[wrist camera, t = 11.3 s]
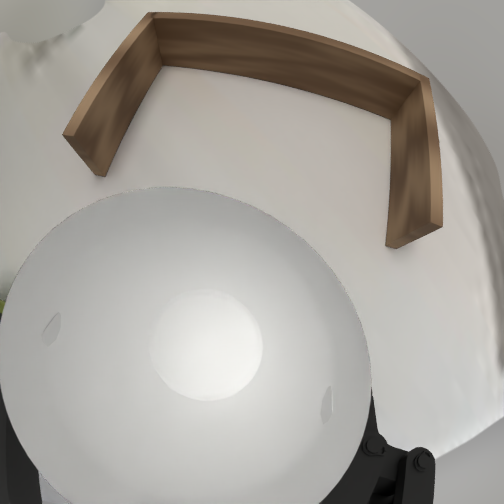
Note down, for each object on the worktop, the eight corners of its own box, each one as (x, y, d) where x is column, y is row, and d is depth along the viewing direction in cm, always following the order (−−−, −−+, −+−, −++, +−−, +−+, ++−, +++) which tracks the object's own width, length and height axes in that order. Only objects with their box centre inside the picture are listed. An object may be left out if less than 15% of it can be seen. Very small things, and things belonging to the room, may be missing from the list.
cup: (313, 338, 17) (444, 362, 6) (213, 444, 16) (198, 587, 4) (200, 238, 18) (160, 112, 7) (103, 345, 16) (-44, 365, 5)
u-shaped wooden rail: (396, 248, 21) (442, 227, 16) (95, 174, 21) (62, 134, 15) (399, 116, 24) (428, 78, 19) (157, 58, 24) (147, 12, 18)
